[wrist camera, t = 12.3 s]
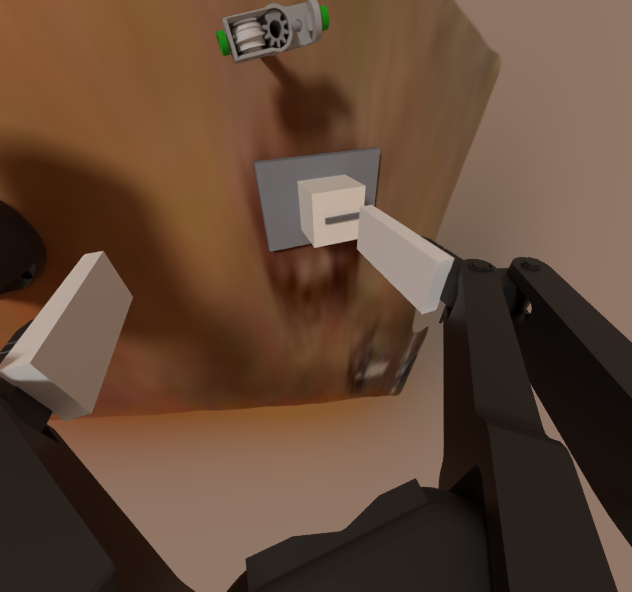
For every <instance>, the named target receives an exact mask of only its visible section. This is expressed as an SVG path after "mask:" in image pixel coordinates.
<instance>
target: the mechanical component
mask: <svg viewBox="0 0 632 592" xmlns="http://www.w3.org/2000/svg"><path fill="white" fill-rule="evenodd" d="M222 25H223V29H224V31H223V30H221V31H217V32H216V36H217V39H218V43H219V46H220V49H221V52H222V54H223V56H226V55H230V51H231V55H232V58H233V61H234V63H235V64H236V63H241V62H245V61H249V60H253V59H257V58H261V57H265V56H274V55H277V54H279V53H280V52H284V51H288V50H291V49H295V48H299V47H303V46H306V45H310V44H312V43H315V42H317V41H319V40H320V39H321V36H322V31H324V30H327V29H328V26H329V16H328V10H327V8H326V6H325V5H324V6H320V7H319V4H318V2H317V0H308V1H307V2H305V3H301V4H297V5H292V6H288V7H285V6H281V5H279V4H275V3H272V4H269V5H267V6H266V7H265V8H262V9H258V10H254V11H250V12H245V13H241V14H237V15H233V16H228V17H224V18H222ZM224 32H225V33H224Z"/></svg>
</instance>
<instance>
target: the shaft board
mask: <svg viewBox="0 0 632 592" xmlns="http://www.w3.org/2000/svg"><path fill="white" fill-rule="evenodd" d="M379 158H380V149H379V148H368V149H359V150H351V151H342V152H333V153H324V154H315V155H307V156H298V157H289V158H280V159H272V160H263V161H254V162H253V163H254V169H255V174H256V180H257V186H258V191H259V197H260V202H261V208H262V214H263V219H264V225H265V231H266V236H267V242H268V247H269V250H270V252H271V251H276V250H281V249H286V248H291V247H296V246H301V245H306V244H311V242H310V241H309V240H308V238H307V237H306V235H305V234H304V233H303V231H302V230H301V218H300V206H299V194H298V182H297V181H302V180H309V179H316V178H324V177H331V176H338V175H347V176H349V177H351V178H352V179H354V180H356V181H358V182H360V183H361V184H363V185H365V186H366V188H365V201H364V206H368V205H373V206H374V205H375V196H376V186H377V177H378V167H379Z"/></svg>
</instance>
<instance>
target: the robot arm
mask: <svg viewBox="0 0 632 592" xmlns="http://www.w3.org/2000/svg"><path fill="white" fill-rule="evenodd" d="M357 250H358V251H359V252H360V253H361V254H362V255H363V256H364V257H365V258H366V259H367V260H368V261H369V262H370V263H371V264H372V265H373V266H374V267H375V268H376V269H377V270H378V271H379V272H380V273H381V274H382V275H383V276H384V277H385V278H386V279H387V280H388V281H389V282H390V283H391V284H392V285H393V286H394V287H395V288H396V289H397V290H398V291H399V292H400V293H401V294H402V295H403V296H404V297H405V298H406V299H407V300H408V301H409V302H410V303H411V304H413V305H414V306H415V307H416V308H417V309H418V310H419V311H420V312H421V313H422V314H425V313H428V312H431V311H435V310H436V309H437V306H438V304H439V301H440V300H441V301H442V302H444V303H445V304H446V305H445V308H444V311H443V314H442V316H441V319H440V321H439V323H442V321H443V324H444V325H443V331H444V332H443V333H444V336H443V337H444V338H443V339H444V457H443V463H442V467H441V471H440V477H439V489H437V488H432V487H420V485H419V483H418V481H417V480H416V478H415V479H413V480H411V481H409V482H407V483H405V484H403V485H401V486H398V487H396V488H395V489H392V490H390V491H388V492H386V493H384V494H381V495H379V496H378V497H377V498H376V499H375V500H374V501H373V502H372V503H371V504H370V505H369V506H368V507H367V508H366V509H365V510H364V511H363V512H362V513H361V514H360V515H359V516H358V517H357V518H356V519H355V520H354V521H353V522H352V523H351V524H350V525H349V526H348V527H347V528H345V529H344V530H342V531H339V532H330V533H321V534H312V535H302V536H293V537H291V538H289V539H286V540H284V541H282V542H280V543H278V544H276V545H274V546H272V547H269V548H267V549H265V550H263V551H261V552H259V553H257V554H255V555H253V556H251V557H248V558H246V571H245V572H244V573H243V574H242V575H241V576H239V578H238V579H237V580H236V581H235V582H234V583H233V585H232V586H231V587H230V588H229V589H228V590H227V592H618V591H617V588H616V585H615V582H614V579H613V576H612V573H611V571H610V568H609V565H608V562H607V559H606V556H605V553H604V550H603V547H602V544H601V542H600V539H599V536H598V533H597V530H596V527H595V524H594V521H593V518H592V515H591V512H590V510H589V507H588V504H587V501H586V498H585V495H584V492H583V489H582V486H581V484H580V481H579V478H578V475H577V472H576V469H575V466H574V463H573V460H572V458H571V456H570V454H569V452H568V450H567V448H566V447H565V446H564V445H563V444H562V443H561V442H560V441H557V440H554V439H551V438H549V437H548V436H547V435H546V434H545V431H544V429H543V426H542V422H541V419H540V416H539V412H538V409H537V405H536V402H535V398H534V395H533V392H532V388H531V385H532V387H533V389H534V390H535V392H536V394H537V395H538V397H539V399H540V401H541V402H542V404H543V406H544V408H545V409H546V411H547V413H548V414H549V416H550V418H551V420H552V421H553V423H554V425H555V426H556V428H557V430H558V432H559V433H560V435H561V437H562V438H563V440H564V442H565V444H566V445H567V447H568V449H569V450H570V452H571V454H572V455H573V457H574V459H575V461H576V462H577V464H578V466H579V467H580V469H581V471H582V473H583V474H584V476H585V478H586V479H587V481H588V483H589V485H590V486H591V488H592V490H593V491H594V493H595V494H596V496H597V498H598V499H599V501H600V502H601V504H602V506H603V507H604V509H605V510H606V512H607V513H608V515H609V517H610V518H611V519H612V521H613V522H614V523H615V525H616V526H617V528H618V529H619V530H620V532H621V533H622V534H623V536H624V537H625V539H626V540H627V541H628V543H629V544H630V545H631V547H632V342H630V341H629V340H628V339H627V338H626V337H625V336H624V335H623V334H622V333H621V332H620V331H618V330H617V329H616V328H615V327H614V326H613V325H612V324H611V323H610V322H609V321H608V320H607V319H606V318H605V317H604V316H602V315H601V314H600V313H599V312H598V311H597V310H596V309H595V308H594V307H593V306H592V305H591V304H590V303H588V302H587V301H586V300H585V299H584V298H583V297H582V296H581V295H580V294H579V293H577V291H575V290H574V289H573V288H572V287H571V286H570V285H569V284H568V283H567V282H566V281H565V280H564V279H563V278H561V277H560V276H559V275H558V274H557V273H556V272H555V271H554V270H553V269H552V268H551V267H550V266H548V265H547V264H545V263H543V262H541V261H539V260H538V259H533V258H530V257H528V258H526V257H519V258H515V259H513V261H512V263H511V265H510V267H509V268H499V269H497V268H495V266H493V265H492V264H491V263H488V262H486V261H482V260H478V259H467V260H463V259H461V258H459V257H458V256H456V255H455V254H453V253H452V252H450V251H448V250H447V249H444V248H443V247H442V246H440V245H438V244H437V243H436V242H434V241H432V240H431V239H428V238H425V237H423V236H419V235H418V234H416V233H415V232H413V231H411V230H410V229H408V228H407V227H405V226H404V225H402V224H401V223H399V222H398V221H396V220H394V219H393V218H391V217H390V216H388V215H387V214H385V213H384V212H382V211H380V210H379V209H377V208H376V207H374V206H373V205H368V206H362V207H360V213H359V227H358V242H357ZM45 264H46V252H45V248H44V245H43V243H42V241H41V239H40V237H39V236H38V234H37V233H36V231H35V230H34V229H33V228H32V227H31V226H30V224H29V223H28V222H27V221H26V220H24V219H23V218H22V217H21V216H20V215H19V214H17V213H16V212H15V211H13V210H12V209H11V208H9V207H8V206H6V205H5V204H3V203H1V202H0V300H2V299H5V298H7V297H10V296H12V295H15V294H17V293H19V292H21V291H23V290H24V289H26V288H27V287H28V286H30V285H31V284H32V283H33V282H34V281H35V280H36V279H37V278H38V277H39V275H40V274H41V273H42V271H43V270H44V267H45ZM132 299H133V296H132V295H131V293H130V292H129V290H128V288H127V287H126V285H125V284H124V282H123V281H122V279H121V278H120V276H119V274H118V273H117V271H116V270H115V268H114V267H113V265H112V264H111V262H110V260H109V259H108V257H107V256H106V254H105V253H104V251H100V252H94V253H89V254H84V255H83V257H82V258H81V259H80V260H79V262H78V263H77V264H76V266H75V267H74V268H73V270H72V271H71V272H70V274H69V275H68V276H67V277H66V279H65V280H64V281H63V283H62V284H61V285H60V287H59V288H58V289H57V290H56V292H55V293H54V294H53V296H52V297H51V298H50V300H49V301H48V302H47V304H46V305H45V306H44V307H43V309H42V310H41V311H40V313H39V314H38V315H37V317H36V318H35V319H34V320H31V321H29V322H28V323H27V324H26V325H24V326H23V327H22V328H20V329H19V330H18V331H16V333H15V334H14V335H13V336H12V338H11V339H10V340H9V341H8V345H5V346H4V348H3V349H2V350H1V351H0V592H195V591H194V590H192V589H191V588H190V587H188V586H187V585H185V584H184V583H183V582H182V581H181V580H180V579H179V578H178V577H177V576H176V575H175V574H174V573H173V571H172V570H171V569H170V568H169V567H168V565H167V564H166V563H165V562H164V561H163V560H162V558H161V557H160V556H159V555H158V554H157V552H156V551H155V550H154V549H153V547H152V546H151V545H150V544H149V542H148V541H147V540H146V539H145V538H144V537H143V536H142V534H141V533H140V532H139V530H138V529H137V528H136V527H135V526H134V524H133V523H132V522H131V521H130V520H129V518H128V517H127V516H126V515H125V514H124V513H123V511H122V510H121V509H120V508H119V506H118V505H117V504H116V503H115V502H114V500H113V499H112V498H111V497H110V496H109V494H108V493H107V492H106V491H105V490H104V488H103V487H102V486H101V485H100V484H99V482H98V481H97V480H96V479H95V478H94V476H93V475H92V474H91V473H90V472H89V470H88V469H87V468H86V467H85V466H84V464H83V463H82V462H81V461H80V460H79V458H78V457H77V456H76V455H75V454H74V452H73V451H72V450H71V449H70V448H69V446H68V445H67V444H66V443H65V441H64V440H63V439H62V438H61V437H60V435H59V434H58V433H57V432H56V431H55V430H54V429H53V428H52V427H50V426H49V425H47V422H48V420H49V418H50V416H51V414H52V413H54V414H55V415H57V416H58V417H59V418H61V419H62V420H64V421H67V420H71V419H74V418H77V417H81V416H84V415H87V414H91V413H92V411H93V408H94V405H95V402H96V399H97V397H98V394H99V391H100V388H101V385H102V383H103V380H104V377H105V374H106V371H107V369H108V366H109V363H110V360H111V357H112V355H113V352H114V349H115V346H116V343H117V341H118V338H119V335H120V332H121V329H122V327H123V324H124V321H125V318H126V315H127V313H128V310H129V307H130V304H131V301H132ZM530 303H531V306H532V311H531V313H529V312H528V311H527V307H528V306H529V304H530ZM530 384H531V385H530Z"/></svg>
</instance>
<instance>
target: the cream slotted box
mask: <svg viewBox="0 0 632 592" xmlns="http://www.w3.org/2000/svg"><path fill="white" fill-rule="evenodd" d="M297 182H298V194H299V206H300V218H301V230H302V231H303V233H304V234H305V235H306V237H307V238H308V240H309V241H310V242H311V244H312V245H313V246H314V248H316V247H321V246H326V245H331V244H336V243H341V242H345V241H350V240H355V239H358V227H359V213H360V207H362V206H364V201H365V188H366V186H365V185H363V184H361V183H360V182H358V181H356V180H354V179H352V178H351V177H349V176H347V175H338V176H331V177H324V178H316V179H309V180H302V181H297Z"/></svg>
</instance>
